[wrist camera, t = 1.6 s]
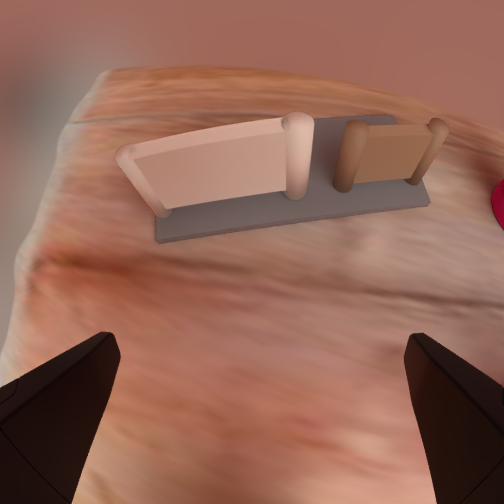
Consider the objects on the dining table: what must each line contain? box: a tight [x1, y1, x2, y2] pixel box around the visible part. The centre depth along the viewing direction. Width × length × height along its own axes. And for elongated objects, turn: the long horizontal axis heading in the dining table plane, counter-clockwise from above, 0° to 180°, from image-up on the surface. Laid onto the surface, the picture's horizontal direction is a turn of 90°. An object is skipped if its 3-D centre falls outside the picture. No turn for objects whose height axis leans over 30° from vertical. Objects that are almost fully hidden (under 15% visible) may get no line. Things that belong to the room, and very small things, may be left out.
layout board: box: [156, 115, 450, 244], centre depth 24 cm, size 23×10×8 cm, turn 97°
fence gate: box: [115, 111, 314, 218], centre depth 22 cm, size 12×2×8 cm, turn 97°
